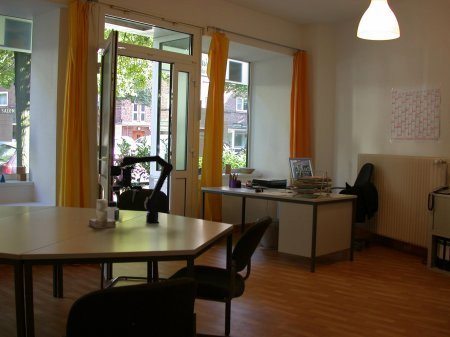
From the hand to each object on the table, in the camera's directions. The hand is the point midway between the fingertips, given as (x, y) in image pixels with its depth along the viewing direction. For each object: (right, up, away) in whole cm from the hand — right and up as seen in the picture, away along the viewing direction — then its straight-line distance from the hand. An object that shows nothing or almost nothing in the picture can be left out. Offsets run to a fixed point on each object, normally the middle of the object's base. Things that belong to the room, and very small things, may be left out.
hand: (126, 202), depth 293 cm
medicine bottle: (-11, -12, +10) cm, 20 cm away
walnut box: (-12, -14, -11) cm, 21 cm away
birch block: (-12, -10, -11) cm, 19 cm away
